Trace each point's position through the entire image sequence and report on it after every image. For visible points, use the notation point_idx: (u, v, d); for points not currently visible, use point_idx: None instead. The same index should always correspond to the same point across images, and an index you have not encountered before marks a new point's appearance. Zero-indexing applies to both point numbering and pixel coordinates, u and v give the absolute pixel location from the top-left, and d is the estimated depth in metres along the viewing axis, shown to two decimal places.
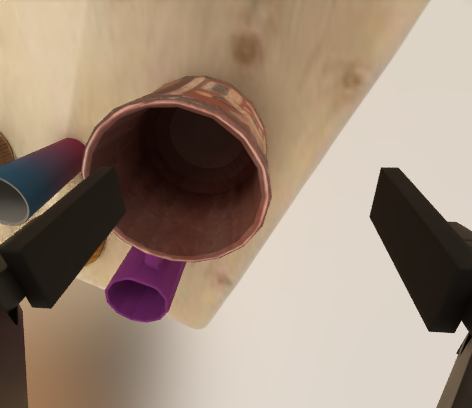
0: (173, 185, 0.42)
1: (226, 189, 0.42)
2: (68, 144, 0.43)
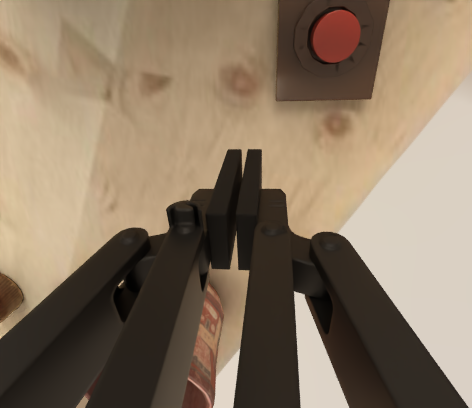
0: None
1: None
2: None
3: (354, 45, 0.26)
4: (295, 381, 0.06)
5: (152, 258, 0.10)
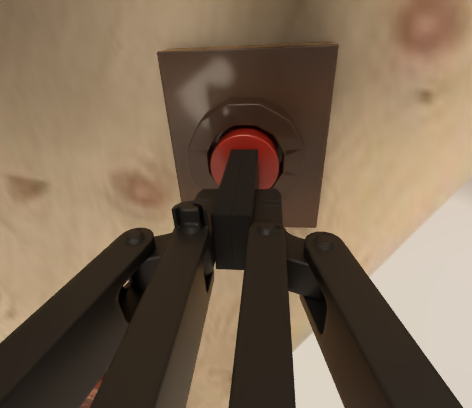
0: None
1: None
2: None
3: (272, 178, 0.17)
4: (290, 380, 0.06)
5: (157, 258, 0.10)
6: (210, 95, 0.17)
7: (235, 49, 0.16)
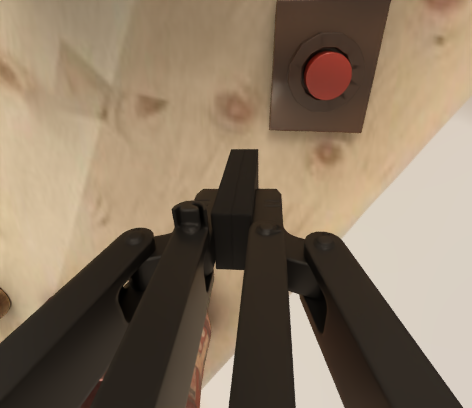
0: None
1: None
2: None
3: (345, 85, 0.26)
4: (290, 380, 0.06)
5: (157, 258, 0.10)
6: (305, 30, 0.27)
7: (327, 0, 0.26)
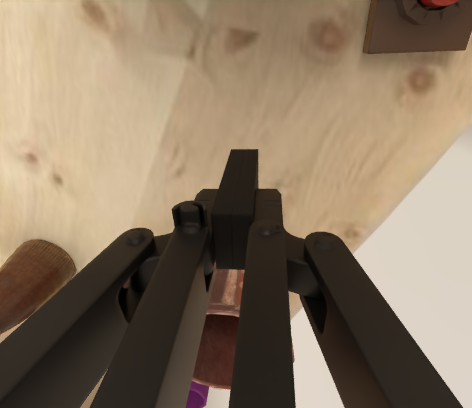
0: None
1: None
2: None
3: None
4: (290, 380, 0.06)
5: (158, 258, 0.10)
6: None
7: None
